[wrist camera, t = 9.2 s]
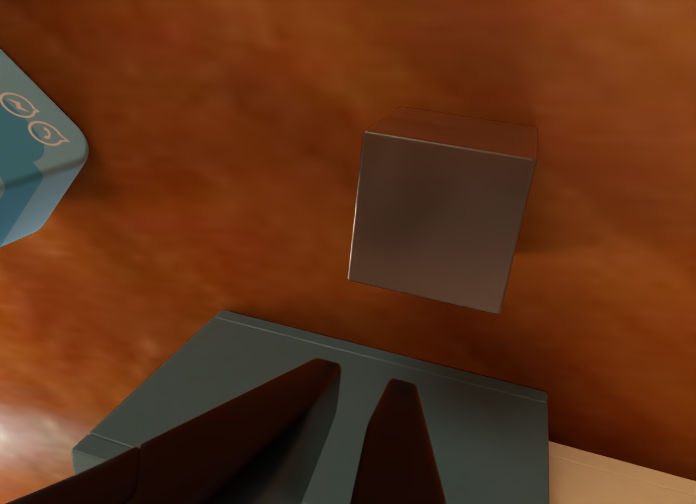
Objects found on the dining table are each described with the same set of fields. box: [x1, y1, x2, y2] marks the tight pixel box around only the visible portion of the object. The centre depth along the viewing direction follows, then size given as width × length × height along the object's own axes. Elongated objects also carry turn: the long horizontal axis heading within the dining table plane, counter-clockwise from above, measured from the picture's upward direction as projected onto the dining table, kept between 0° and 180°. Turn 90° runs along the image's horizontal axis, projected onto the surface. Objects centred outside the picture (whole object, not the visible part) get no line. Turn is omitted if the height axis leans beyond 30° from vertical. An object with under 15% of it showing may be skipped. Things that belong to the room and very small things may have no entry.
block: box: [348, 107, 537, 314], centre depth 18 cm, size 4×4×4 cm
